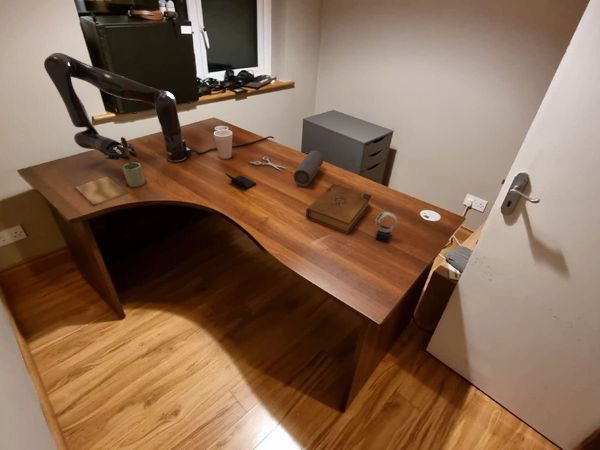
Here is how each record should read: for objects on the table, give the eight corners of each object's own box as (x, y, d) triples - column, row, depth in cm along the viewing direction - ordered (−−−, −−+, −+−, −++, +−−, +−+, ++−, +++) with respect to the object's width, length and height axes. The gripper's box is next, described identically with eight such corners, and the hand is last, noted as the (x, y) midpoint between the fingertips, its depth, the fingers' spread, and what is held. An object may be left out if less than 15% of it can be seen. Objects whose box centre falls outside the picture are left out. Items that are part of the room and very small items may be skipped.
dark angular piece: (258, 179, 156) (247, 168, 147) (252, 192, 154) (241, 183, 146) (240, 175, 161) (228, 165, 153) (234, 188, 160) (222, 179, 151)
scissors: (263, 155, 179) (292, 165, 169) (263, 156, 179) (292, 167, 170) (249, 162, 172) (279, 173, 162) (249, 163, 172) (279, 174, 163)
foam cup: (238, 155, 179) (235, 132, 171) (226, 161, 173) (223, 138, 165) (225, 150, 183) (222, 128, 175) (213, 156, 177) (209, 133, 169)
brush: (137, 181, 153) (123, 135, 140) (139, 182, 152) (125, 137, 139) (133, 182, 152) (119, 136, 139) (135, 183, 151) (121, 138, 138)
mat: (107, 177, 156) (107, 176, 156) (126, 193, 146) (126, 192, 145) (75, 188, 148) (75, 186, 148) (93, 205, 137) (93, 204, 137)
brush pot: (140, 177, 157) (135, 160, 151) (148, 183, 153) (143, 166, 147) (125, 183, 152) (119, 165, 147) (132, 189, 148) (127, 171, 143)
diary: (331, 194, 151) (332, 183, 147) (369, 206, 143) (371, 195, 140) (305, 218, 135) (306, 207, 131) (347, 234, 127) (349, 222, 124)
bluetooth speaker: (311, 190, 153) (312, 170, 147) (292, 186, 155) (292, 167, 149) (324, 168, 170) (325, 150, 164) (307, 165, 172) (308, 147, 166)
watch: (373, 230, 130) (378, 207, 123) (394, 235, 128) (400, 212, 121) (370, 238, 126) (375, 215, 119) (391, 244, 124) (398, 220, 117)
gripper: (90, 143, 143) (114, 154, 136) (119, 133, 152) (143, 143, 145) (96, 159, 147) (120, 170, 140) (124, 149, 157) (148, 158, 150)
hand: (132, 156), depth 143 cm, fingers open, 3 cm apart
